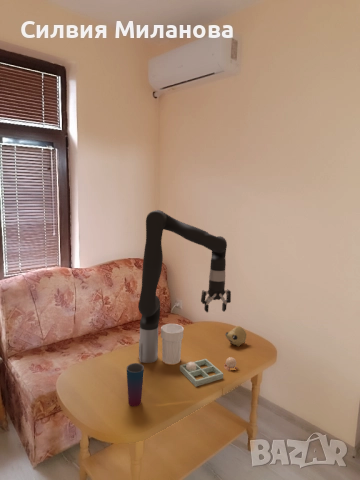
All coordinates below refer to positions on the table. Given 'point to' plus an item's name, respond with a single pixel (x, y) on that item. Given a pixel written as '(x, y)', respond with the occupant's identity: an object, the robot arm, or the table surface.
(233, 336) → the yellow toy animal head
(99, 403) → the table surface
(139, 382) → the cup
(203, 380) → the egg tray
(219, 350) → the table surface
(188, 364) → the cream egg
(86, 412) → the table surface
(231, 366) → the brown egg
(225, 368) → the egg cup
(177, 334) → the cup
